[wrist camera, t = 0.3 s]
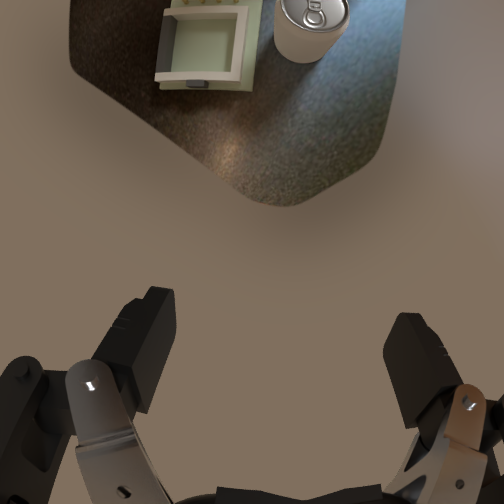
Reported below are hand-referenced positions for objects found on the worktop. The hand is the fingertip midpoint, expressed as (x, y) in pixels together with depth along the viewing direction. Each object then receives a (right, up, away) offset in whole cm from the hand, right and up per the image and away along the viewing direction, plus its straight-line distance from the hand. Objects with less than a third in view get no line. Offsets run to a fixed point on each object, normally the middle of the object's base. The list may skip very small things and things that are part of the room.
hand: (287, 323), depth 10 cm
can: (+5, +27, +17) cm, 33 cm away
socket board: (-6, +27, +18) cm, 33 cm away
